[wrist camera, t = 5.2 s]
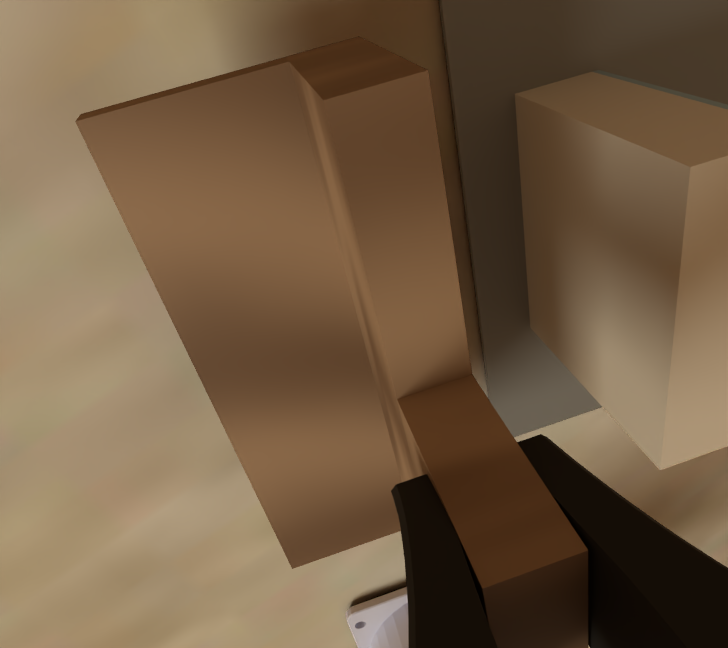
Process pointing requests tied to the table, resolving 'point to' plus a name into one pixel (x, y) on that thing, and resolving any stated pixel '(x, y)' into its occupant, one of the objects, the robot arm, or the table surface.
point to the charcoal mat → (501, 154)
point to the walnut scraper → (337, 315)
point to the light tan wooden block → (631, 252)
